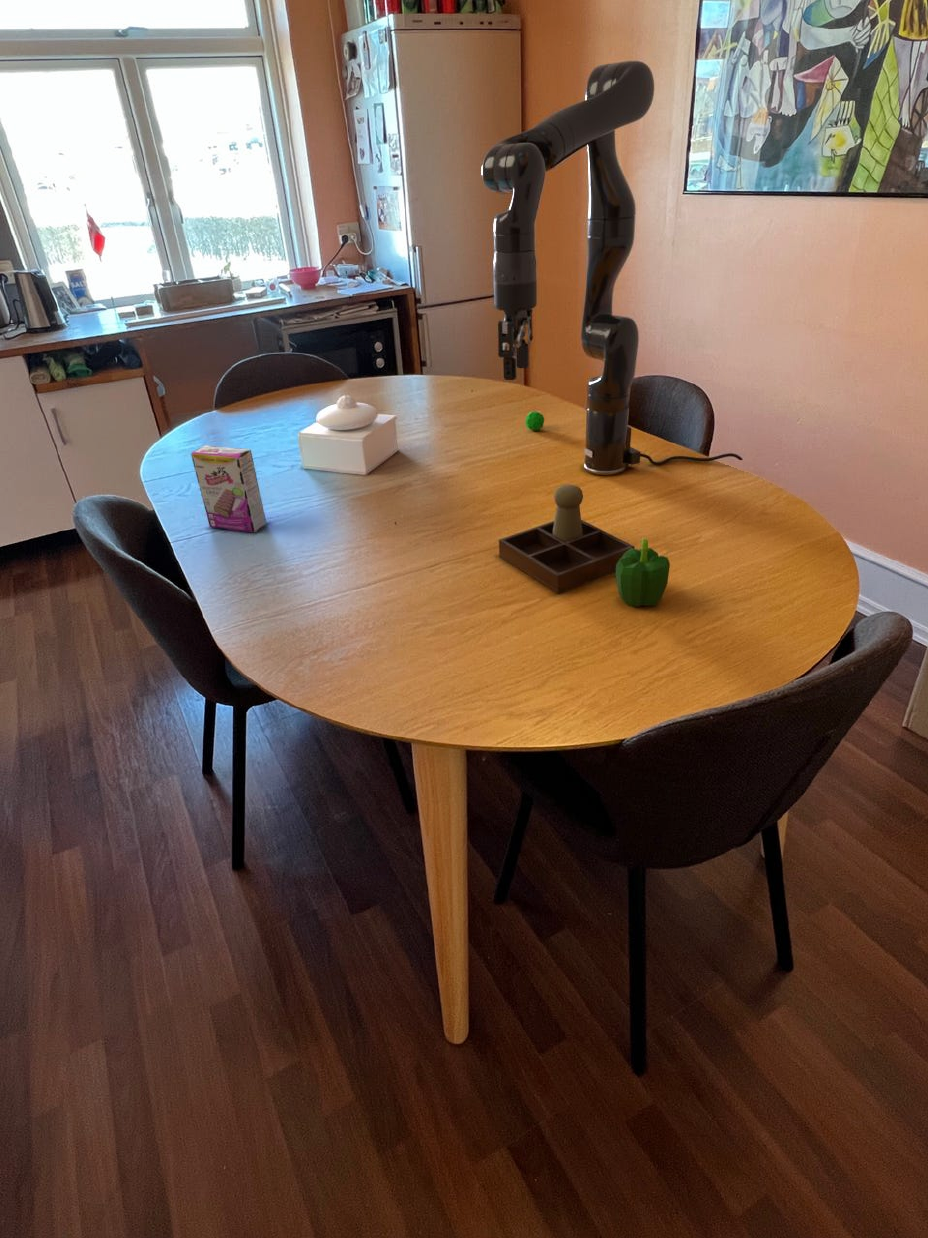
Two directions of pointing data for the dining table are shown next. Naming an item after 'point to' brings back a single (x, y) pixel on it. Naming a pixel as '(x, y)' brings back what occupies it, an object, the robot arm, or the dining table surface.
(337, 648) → the dining table surface
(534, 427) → the green pom-pom ball
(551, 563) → the compartment tray
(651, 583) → the bell pepper
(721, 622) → the dining table surface
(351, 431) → the butter dish
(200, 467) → the candy bar box
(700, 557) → the dining table surface
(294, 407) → the dining table surface
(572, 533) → the pawn
